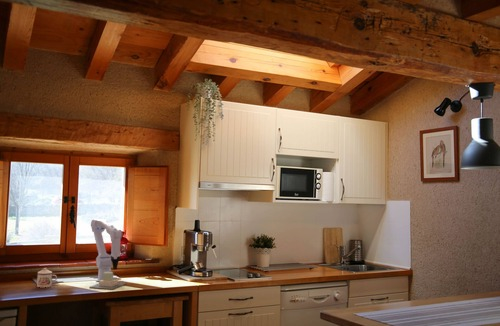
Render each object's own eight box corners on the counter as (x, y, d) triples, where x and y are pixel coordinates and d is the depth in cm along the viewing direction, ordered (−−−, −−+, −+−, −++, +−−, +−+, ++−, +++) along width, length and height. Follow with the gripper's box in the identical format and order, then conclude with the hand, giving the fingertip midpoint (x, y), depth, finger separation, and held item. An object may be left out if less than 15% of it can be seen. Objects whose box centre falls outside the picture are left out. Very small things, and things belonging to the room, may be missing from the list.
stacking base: (104, 282, 337) (104, 277, 338) (126, 284, 334) (126, 278, 334) (89, 288, 318) (89, 282, 318) (112, 289, 315) (112, 283, 315)
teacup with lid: (36, 288, 313) (37, 269, 314) (36, 285, 322) (37, 267, 322) (56, 287, 317) (57, 269, 318) (56, 284, 326) (57, 266, 327)
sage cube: (105, 279, 329) (105, 271, 329) (112, 279, 329) (113, 272, 329) (102, 280, 324) (103, 273, 324) (110, 281, 324) (110, 273, 324)
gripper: (109, 247, 341) (109, 267, 340) (109, 249, 327) (108, 270, 326) (120, 247, 343) (119, 266, 342) (120, 249, 329) (119, 269, 328)
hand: (115, 268), depth 334 cm, fingers open, 7 cm apart
